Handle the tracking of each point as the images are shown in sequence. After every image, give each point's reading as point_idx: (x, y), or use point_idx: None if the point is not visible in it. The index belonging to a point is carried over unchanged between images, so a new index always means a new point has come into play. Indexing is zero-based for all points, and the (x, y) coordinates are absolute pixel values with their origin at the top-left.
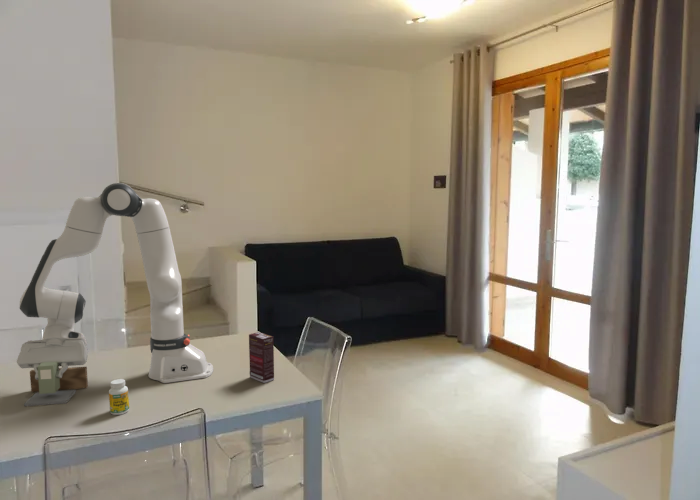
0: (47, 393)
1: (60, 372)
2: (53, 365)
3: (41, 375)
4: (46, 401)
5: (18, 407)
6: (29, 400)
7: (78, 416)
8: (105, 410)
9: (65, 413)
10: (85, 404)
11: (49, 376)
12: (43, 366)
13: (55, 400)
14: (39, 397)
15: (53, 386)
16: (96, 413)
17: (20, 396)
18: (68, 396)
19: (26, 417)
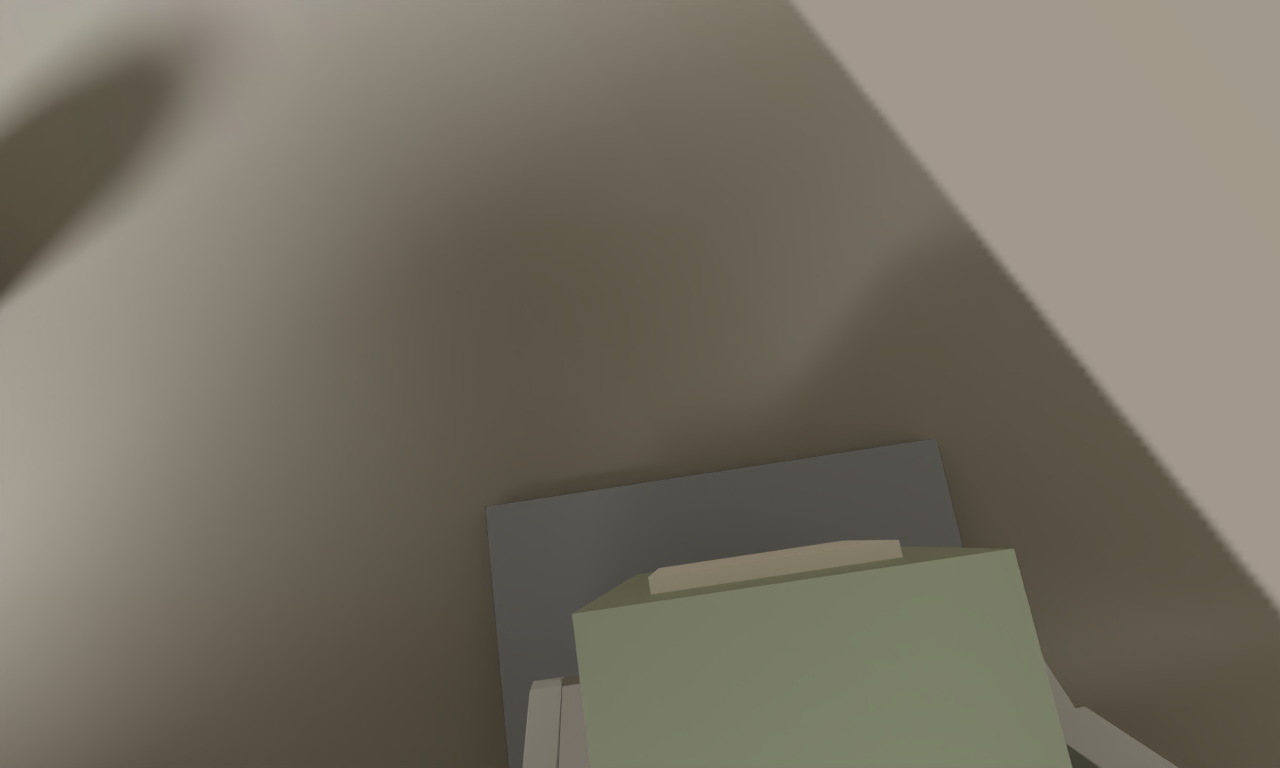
0: None
1: (532, 749)
2: (577, 645)
3: (842, 542)
4: (706, 491)
5: (973, 413)
6: (934, 529)
7: (252, 200)
8: (42, 319)
9: (397, 262)
10: (276, 467)
11: (685, 566)
12: (841, 575)
13: (615, 519)
14: None
15: (643, 577)
16: (109, 257)
17: (1191, 753)
18: (512, 635)
19: (730, 184)
